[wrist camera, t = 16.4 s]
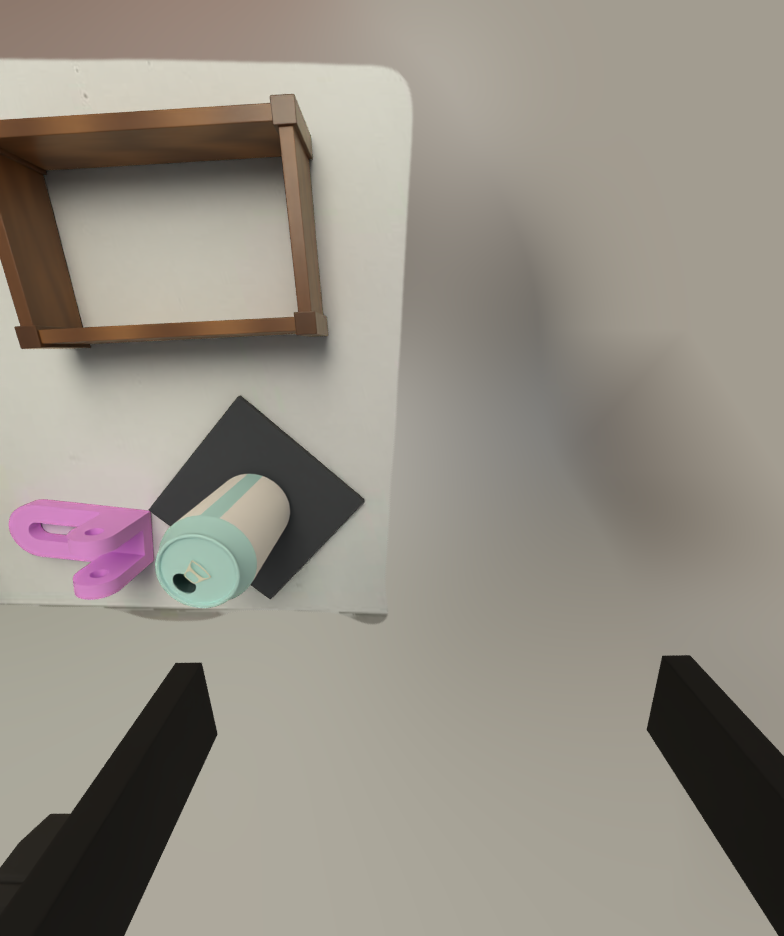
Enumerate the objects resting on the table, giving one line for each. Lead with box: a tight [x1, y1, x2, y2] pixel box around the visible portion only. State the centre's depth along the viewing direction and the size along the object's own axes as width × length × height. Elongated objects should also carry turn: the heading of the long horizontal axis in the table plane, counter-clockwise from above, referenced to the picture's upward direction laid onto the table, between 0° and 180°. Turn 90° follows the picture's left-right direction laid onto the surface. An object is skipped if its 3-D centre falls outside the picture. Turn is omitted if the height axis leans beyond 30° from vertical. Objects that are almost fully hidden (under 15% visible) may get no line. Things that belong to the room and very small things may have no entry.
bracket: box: [9, 499, 154, 600], centre depth 37 cm, size 13×6×7 cm, turn 83°
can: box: [155, 474, 290, 608], centre depth 33 cm, size 7×7×12 cm
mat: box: [149, 396, 364, 599], centre depth 39 cm, size 15×15×1 cm
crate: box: [0, 94, 328, 349], centre depth 30 cm, size 23×15×5 cm, turn 93°
